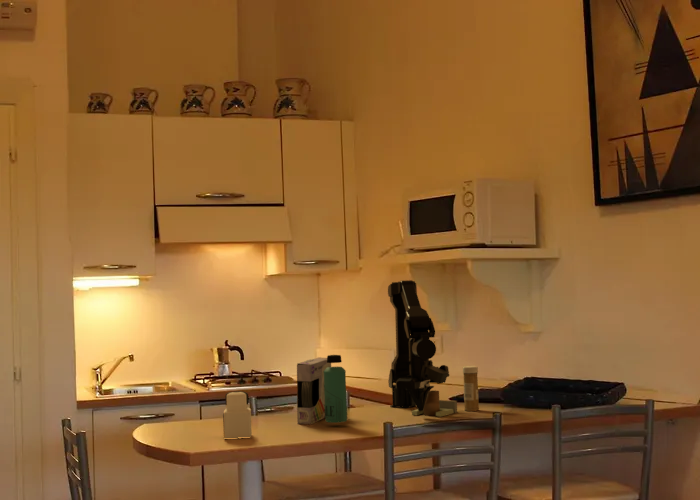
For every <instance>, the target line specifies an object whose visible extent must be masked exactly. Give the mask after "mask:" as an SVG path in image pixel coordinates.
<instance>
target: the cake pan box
mask: <svg viewBox="0 0 700 500" xmlns="http://www.w3.org/2000/svg"><path fill="white" fill-rule="evenodd" d="M327 367H332V363H327V357H321V356H320V357H319V356H318V357H316V358H312V359H307V360H304V361H302V362H297V364H296V389H297V390H296V409H297V411H296V412H297V413H296V416H297V417H296V418H297V421H296V422H297V424H298V425H312V424H314V423H317V422H319V421H320V420H323V419H325V406H324V405H325V394H324V370H325V369H326V368H327Z"/></svg>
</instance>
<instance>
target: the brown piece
mask: <svg viewBox="0 0 700 500" xmlns="http://www.w3.org/2000/svg"><path fill="white" fill-rule="evenodd" d="M439 400H440V391H439V390H433V389H431V390H430V391H429V392H428V394H427V397H426V401H425V405H424V408H423V409H424V413H423V416H424V415H425V416H426V417H437V416H436V412H439V411H440V405H439ZM425 416H424V417H425Z"/></svg>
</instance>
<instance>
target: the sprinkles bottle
mask: <svg viewBox="0 0 700 500" xmlns="http://www.w3.org/2000/svg"><path fill="white" fill-rule="evenodd" d="M478 369H479V368H478V366H477V365H465V366H463V367H462V374H463V400H464V411H467V412H477V411H479V410H480V407H479V404H480V403H479V383H478V374H479V370H478Z"/></svg>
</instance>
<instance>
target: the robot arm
mask: <svg viewBox="0 0 700 500" xmlns="http://www.w3.org/2000/svg"><path fill="white" fill-rule="evenodd" d="M417 287H418V286H417V283H416V281H415V280H412V279H411V280H410V279H409V280H407V279H405V280H400V281H393V282H391V283H390V284H389V285H388V287H387V295H388V297H389V302H390V304H391V305H392V306H393V308H394V312H395V317H394V318H395V320H394V321H395V347H396V348H395V350H396V354H395V357H394V358H393V360H392V361H391V368H390V371H389V375H388V387H389V388H390V389H391V390H392V391H391V392H392V404H391V405H389V407H390V408H403V409H404V408H405V409H407V408H411V407H416V410H417V409H418V410H419V411H423V408H424V405H425V401H426V397H427V394H428V392H429V391H431V390H433V388H434V387H435V385H431V384H432V383H433V384H437V385H438V384H439V385H440V384H443V383H446V381H447V378H448V377H450V371H449V366H448V365H445V364H442V365H440V366H436V365H435V366H434V363H433V360H432V359H431V358H433V357H434V356H435V354H436V353H437V347H436V345H435V342H434V341H432V340H431V339H430V338H435V335H436V329H435V326H434V323H433V322H434V321H432V317H430V314H429V313H428V311H427V310H426V309H425V308H423V307H422V306H421V302H420V299H419V295H418V290H417V289H418V288H417Z"/></svg>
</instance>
